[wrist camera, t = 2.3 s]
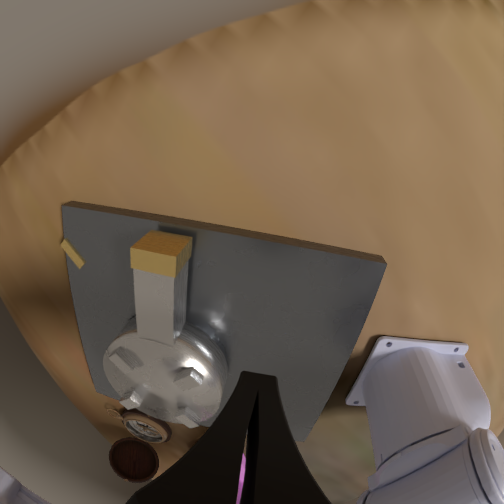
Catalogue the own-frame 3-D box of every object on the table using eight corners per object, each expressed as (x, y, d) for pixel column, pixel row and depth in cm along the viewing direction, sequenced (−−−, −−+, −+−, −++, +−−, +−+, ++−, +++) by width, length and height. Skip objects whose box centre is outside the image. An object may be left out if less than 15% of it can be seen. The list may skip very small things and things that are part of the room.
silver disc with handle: (222, 406, 23) (214, 441, 20) (126, 380, 24) (109, 410, 20) (247, 245, 17) (237, 277, 14) (109, 220, 18) (74, 242, 14)
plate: (382, 256, 18) (387, 265, 17) (304, 432, 26) (304, 442, 25) (68, 200, 19) (57, 205, 18) (98, 383, 27) (93, 391, 26)
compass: (177, 421, 28) (157, 475, 21) (165, 447, 31) (149, 491, 24) (110, 391, 27) (82, 440, 21) (109, 421, 31) (87, 463, 24)
